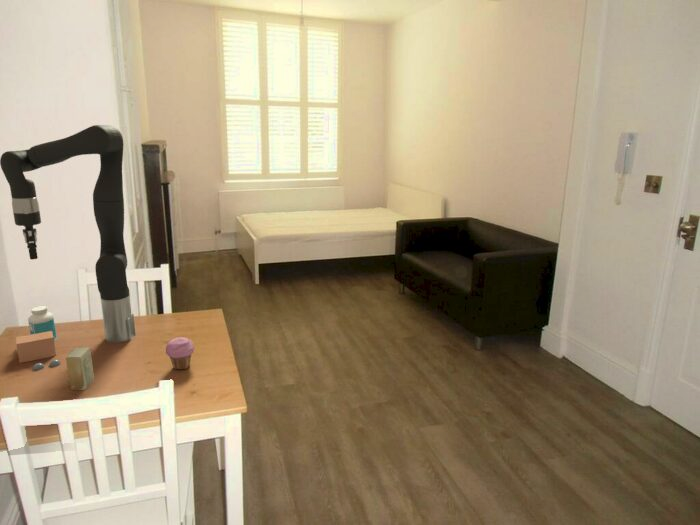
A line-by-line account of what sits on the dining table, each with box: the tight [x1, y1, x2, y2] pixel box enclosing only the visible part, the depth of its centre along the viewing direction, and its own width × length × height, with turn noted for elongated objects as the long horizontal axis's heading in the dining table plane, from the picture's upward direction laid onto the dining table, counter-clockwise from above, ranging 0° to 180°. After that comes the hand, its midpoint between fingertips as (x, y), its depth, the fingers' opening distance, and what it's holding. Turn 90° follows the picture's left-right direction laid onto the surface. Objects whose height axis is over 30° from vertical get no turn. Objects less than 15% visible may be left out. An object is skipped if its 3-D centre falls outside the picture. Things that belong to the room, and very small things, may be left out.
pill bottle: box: [27, 305, 57, 342], centre depth 165 cm, size 8×7×14 cm
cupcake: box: [165, 336, 195, 370], centre depth 153 cm, size 9×9×10 cm
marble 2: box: [49, 359, 61, 368], centre depth 150 cm, size 3×3×3 cm
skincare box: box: [65, 347, 95, 391], centre depth 138 cm, size 6×4×12 cm
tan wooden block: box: [15, 331, 57, 364], centre depth 155 cm, size 10×6×8 cm, turn 124°
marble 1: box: [32, 362, 45, 371], centre depth 148 cm, size 3×3×3 cm
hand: (33, 256), depth 166 cm, fingers open, 8 cm apart
